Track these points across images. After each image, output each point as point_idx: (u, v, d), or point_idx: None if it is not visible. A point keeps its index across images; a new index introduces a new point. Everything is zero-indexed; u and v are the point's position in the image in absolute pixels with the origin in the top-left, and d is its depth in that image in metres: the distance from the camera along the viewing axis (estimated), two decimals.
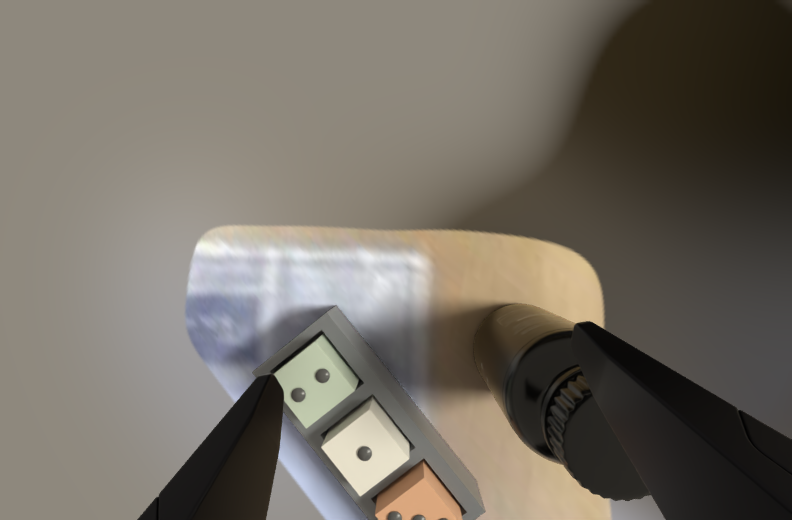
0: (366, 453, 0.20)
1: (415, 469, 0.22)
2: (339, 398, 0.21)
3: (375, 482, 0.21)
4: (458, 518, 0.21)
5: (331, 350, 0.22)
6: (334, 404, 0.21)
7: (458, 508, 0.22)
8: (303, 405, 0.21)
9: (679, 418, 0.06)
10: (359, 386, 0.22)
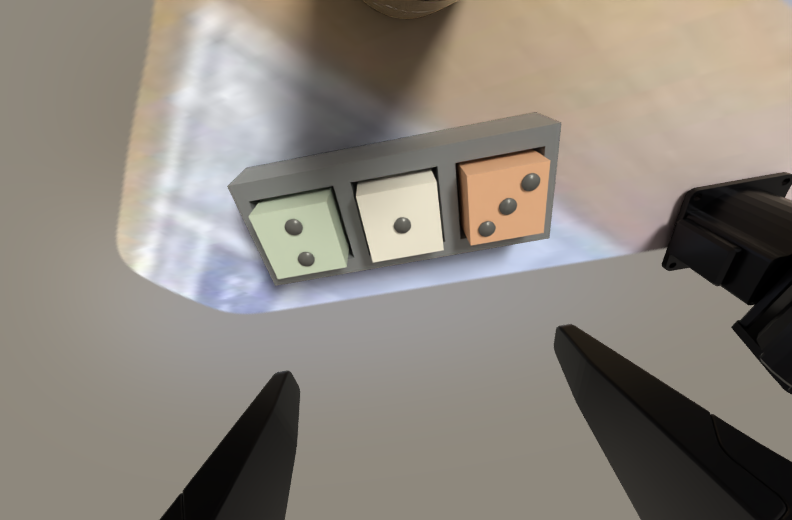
0: (402, 223, 0.17)
1: (461, 179, 0.17)
2: (328, 221, 0.17)
3: (438, 229, 0.17)
4: (537, 161, 0.16)
5: (277, 202, 0.17)
6: (332, 230, 0.17)
7: (533, 154, 0.17)
8: (320, 259, 0.18)
9: (652, 422, 0.06)
10: (336, 192, 0.17)
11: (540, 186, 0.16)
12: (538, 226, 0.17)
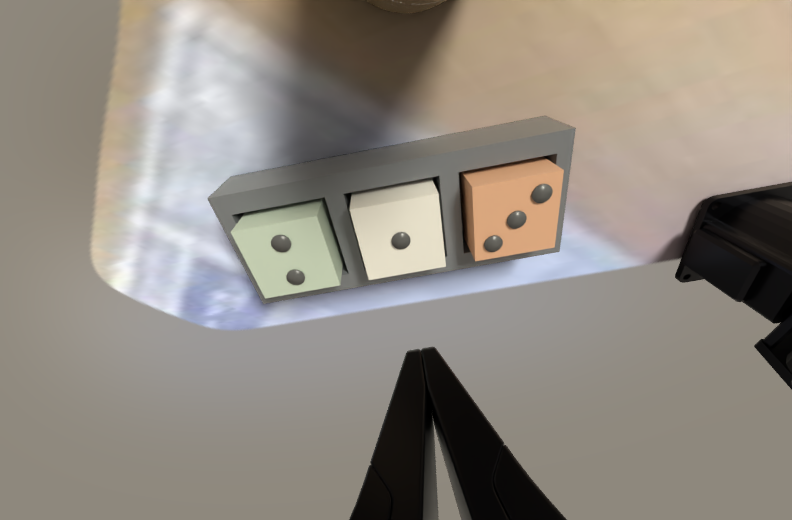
0: (401, 239, 0.15)
1: (465, 189, 0.16)
2: (319, 237, 0.15)
3: (440, 244, 0.16)
4: (549, 170, 0.14)
5: (263, 216, 0.16)
6: (324, 246, 0.15)
7: (544, 162, 0.15)
8: (311, 277, 0.16)
9: (451, 452, 0.06)
10: None
11: (552, 198, 0.15)
12: (549, 240, 0.16)
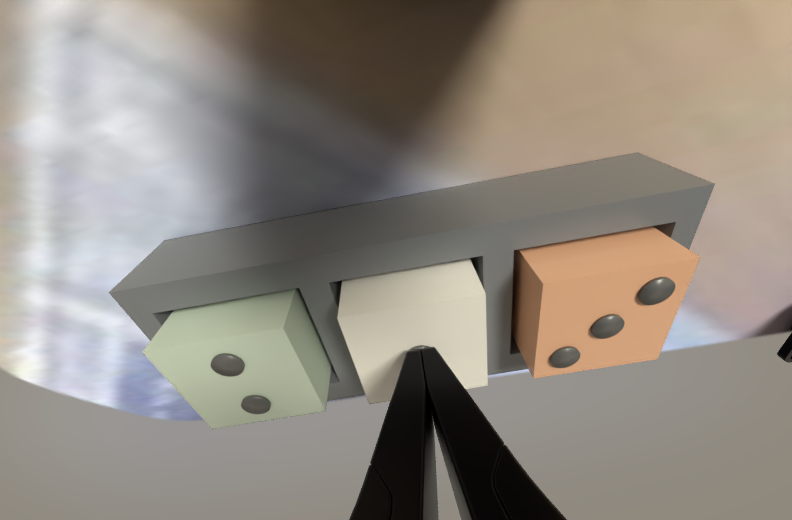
0: None
1: (521, 273, 0.10)
2: (290, 355, 0.09)
3: (481, 359, 0.10)
4: (673, 256, 0.08)
5: (202, 316, 0.10)
6: (298, 366, 0.10)
7: (653, 235, 0.09)
8: (280, 403, 0.11)
9: (451, 452, 0.06)
10: None
11: (671, 296, 0.09)
12: (651, 351, 0.10)
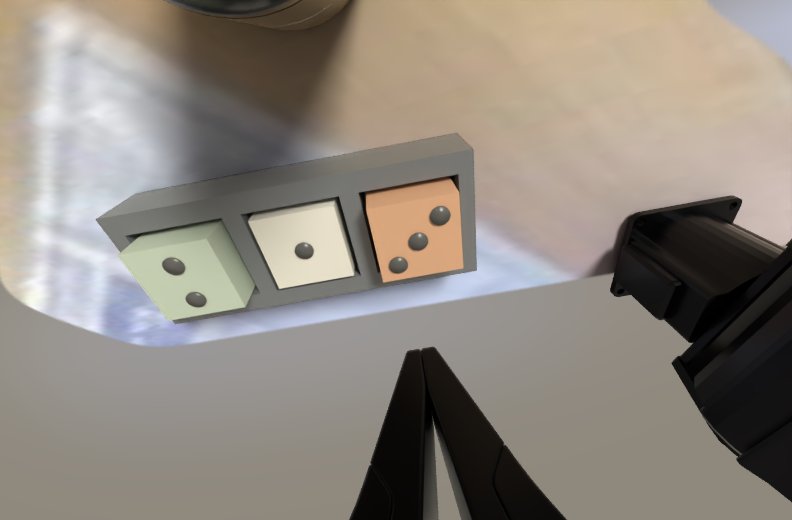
0: (304, 249, 0.16)
1: None
2: (214, 260, 0.15)
3: (344, 254, 0.16)
4: (446, 193, 0.14)
5: (158, 237, 0.15)
6: (220, 268, 0.15)
7: (446, 183, 0.15)
8: (212, 299, 0.16)
9: (451, 452, 0.06)
10: None
11: (452, 220, 0.14)
12: (456, 261, 0.16)
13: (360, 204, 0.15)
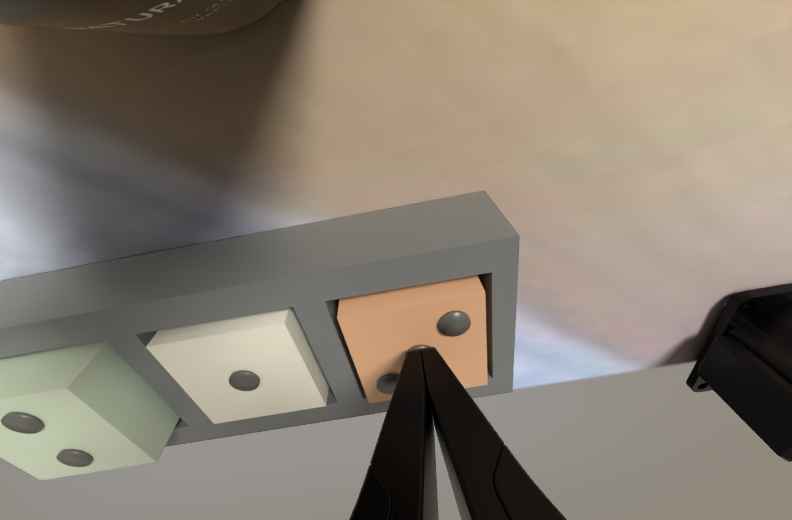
0: (243, 379, 0.10)
1: None
2: (88, 412, 0.09)
3: (308, 382, 0.10)
4: (464, 291, 0.09)
5: (6, 368, 0.09)
6: (102, 422, 0.09)
7: None
8: (102, 456, 0.10)
9: (451, 452, 0.06)
10: None
11: (472, 328, 0.09)
12: (477, 377, 0.11)
13: (330, 316, 0.09)
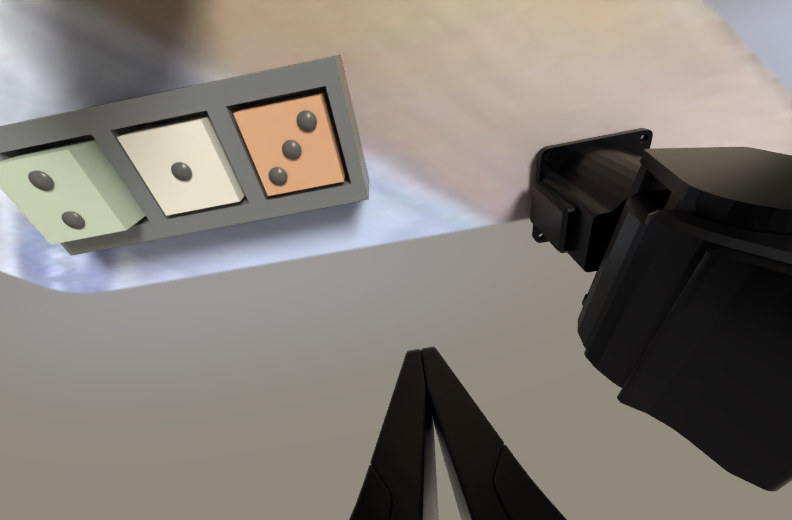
0: (180, 169, 0.16)
1: None
2: (81, 174, 0.15)
3: (224, 177, 0.16)
4: (309, 97, 0.15)
5: (30, 154, 0.15)
6: (90, 184, 0.15)
7: (317, 93, 0.15)
8: (90, 220, 0.16)
9: (450, 452, 0.06)
10: None
11: (320, 126, 0.15)
12: (335, 173, 0.16)
13: (231, 120, 0.15)
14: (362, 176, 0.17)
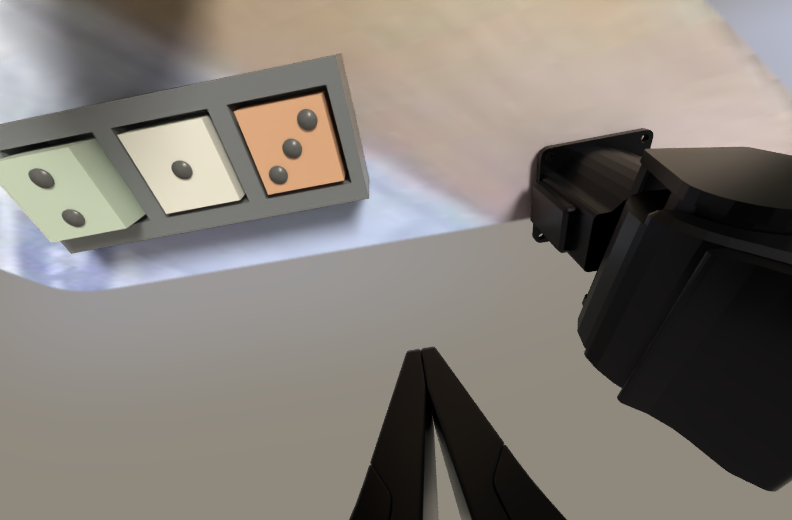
0: (181, 167, 0.16)
1: None
2: (81, 172, 0.15)
3: (225, 175, 0.16)
4: (310, 95, 0.15)
5: (30, 152, 0.15)
6: (90, 182, 0.15)
7: (318, 92, 0.15)
8: (90, 218, 0.16)
9: (451, 452, 0.06)
10: None
11: (320, 125, 0.15)
12: (335, 172, 0.16)
13: (232, 118, 0.15)
14: (362, 175, 0.17)
